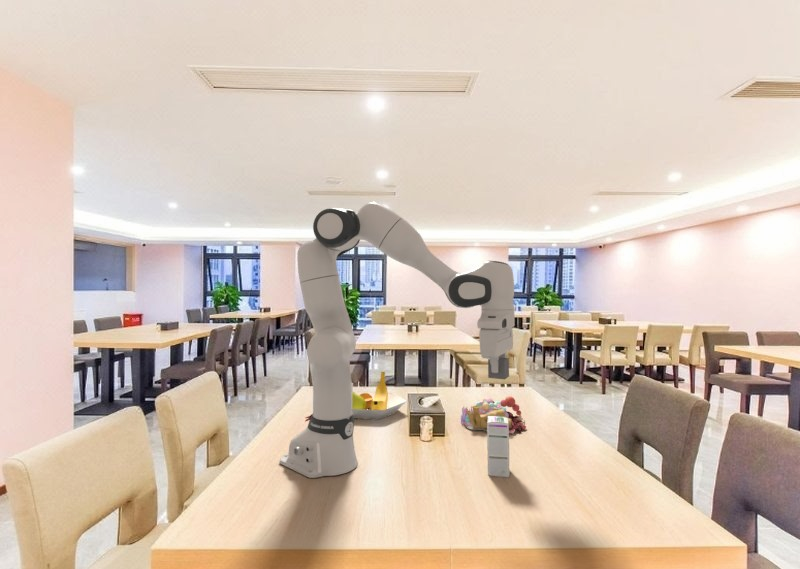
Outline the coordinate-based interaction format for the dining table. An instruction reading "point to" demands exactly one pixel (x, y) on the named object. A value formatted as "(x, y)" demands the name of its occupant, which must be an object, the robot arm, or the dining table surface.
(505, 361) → the block
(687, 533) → the dining table surface
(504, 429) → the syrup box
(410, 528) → the dining table surface
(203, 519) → the dining table surface
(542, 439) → the dining table surface
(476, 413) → the food platter
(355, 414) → the fruit
